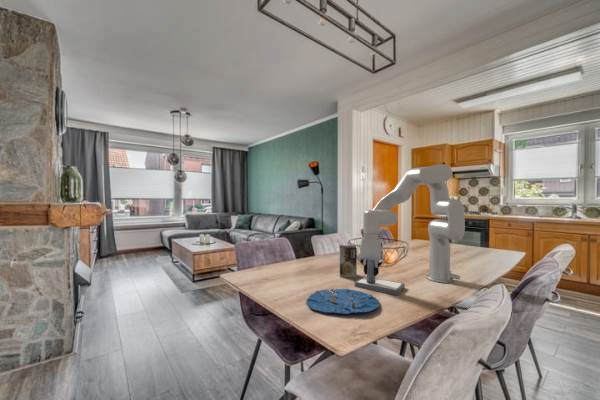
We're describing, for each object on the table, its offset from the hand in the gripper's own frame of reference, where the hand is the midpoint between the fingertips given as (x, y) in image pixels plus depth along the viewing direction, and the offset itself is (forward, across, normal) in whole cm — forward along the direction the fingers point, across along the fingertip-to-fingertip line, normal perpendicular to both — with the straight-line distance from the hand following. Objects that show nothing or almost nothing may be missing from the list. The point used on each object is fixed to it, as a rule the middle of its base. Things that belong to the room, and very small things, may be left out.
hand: (371, 274), depth 123 cm
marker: (+4, 0, 0) cm, 4 cm away
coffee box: (+6, +17, -11) cm, 21 cm away
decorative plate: (+7, +4, +24) cm, 26 cm away
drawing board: (+6, -3, -2) cm, 8 cm away
